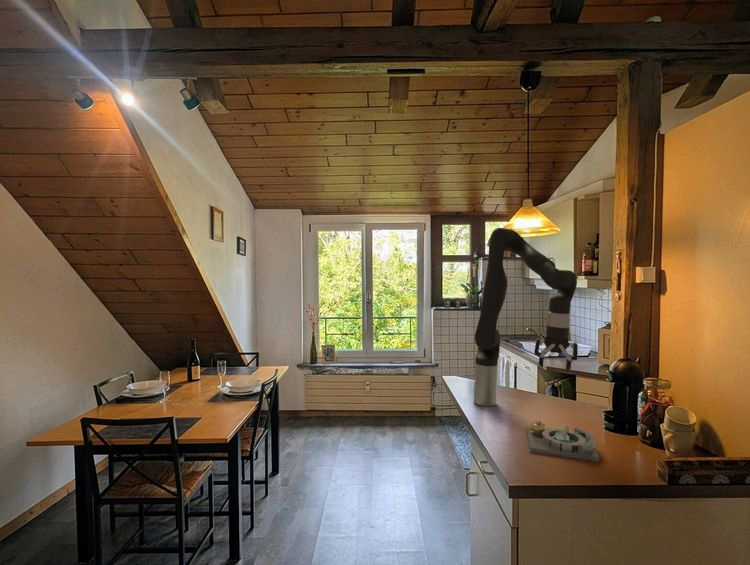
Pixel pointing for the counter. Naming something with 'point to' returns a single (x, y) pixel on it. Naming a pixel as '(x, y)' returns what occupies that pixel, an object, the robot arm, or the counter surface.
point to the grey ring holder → (561, 443)
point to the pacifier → (563, 434)
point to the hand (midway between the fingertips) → (554, 368)
